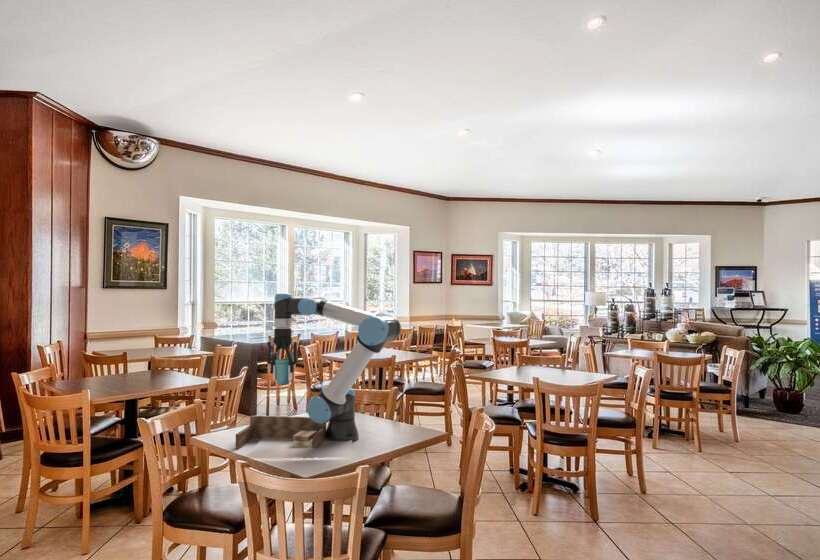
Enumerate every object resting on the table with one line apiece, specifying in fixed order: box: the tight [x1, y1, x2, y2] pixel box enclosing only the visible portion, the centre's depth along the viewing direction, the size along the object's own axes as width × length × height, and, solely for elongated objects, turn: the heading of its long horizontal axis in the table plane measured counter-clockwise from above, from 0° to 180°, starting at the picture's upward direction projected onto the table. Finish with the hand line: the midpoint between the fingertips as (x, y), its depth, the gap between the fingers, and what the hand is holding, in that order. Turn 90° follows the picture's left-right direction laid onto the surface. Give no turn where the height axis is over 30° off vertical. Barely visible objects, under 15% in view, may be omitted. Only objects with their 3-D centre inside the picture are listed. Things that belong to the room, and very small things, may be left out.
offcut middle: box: [292, 439, 313, 447], centre depth 233 cm, size 8×11×2 cm
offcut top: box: [292, 430, 317, 442], centre depth 233 cm, size 7×10×2 cm
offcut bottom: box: [289, 443, 313, 448], centre depth 233 cm, size 9×13×2 cm
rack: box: [235, 415, 327, 450], centre depth 235 cm, size 34×18×10 cm, turn 85°
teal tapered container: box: [270, 350, 294, 385], centre depth 242 cm, size 14×8×15 cm, turn 148°
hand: (282, 379), depth 242 cm, fingers closed on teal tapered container, 6 cm apart
